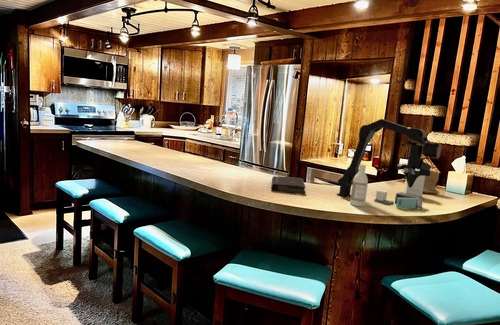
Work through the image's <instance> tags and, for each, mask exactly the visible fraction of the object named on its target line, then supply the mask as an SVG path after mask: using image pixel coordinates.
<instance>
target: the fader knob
mask: <svg viewBox="0 0 500 325" xmlns="http://www.w3.org/2000/svg"><path fill="white" fill-rule="evenodd" d="M387 196H388V191H385V190H382V189H380V190H376V194H375V199H377V200H381V201H384V200H387Z"/></svg>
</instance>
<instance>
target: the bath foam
mask: <svg viewBox="0 0 500 325" xmlns="http://www.w3.org/2000/svg"><path fill="white" fill-rule="evenodd" d="M366 167H367V165H366V164H362V163H360V166H359V172H358V173H357V174H356V175H355V177H354V179H353V185H351V192H350V195H351V197H350V201H349V204H350V205H352V206H354V207H361V208H362V207H365V204H366V199H367V192H368V184H369V179H368V176H367V174H366Z"/></svg>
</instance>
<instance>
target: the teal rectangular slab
mask: <svg viewBox="0 0 500 325" xmlns="http://www.w3.org/2000/svg"><path fill="white" fill-rule="evenodd" d="M416 202H417V199H415V198H398V197H397V204H395V205H396V206H395V208H396V209H413V210H414V209H415V208H416ZM415 210H416V209H415Z"/></svg>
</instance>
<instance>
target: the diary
mask: <svg viewBox="0 0 500 325" xmlns="http://www.w3.org/2000/svg"><path fill="white" fill-rule="evenodd" d="M270 188H271V190H270V191H272V192H273V191H274V190H275V192H282V193H288V194H296V195H305V190H306V184H305V182H304V179H303V178H301V177H291V176H276V175H274V176H273V177H272V178H271V186H270Z"/></svg>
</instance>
